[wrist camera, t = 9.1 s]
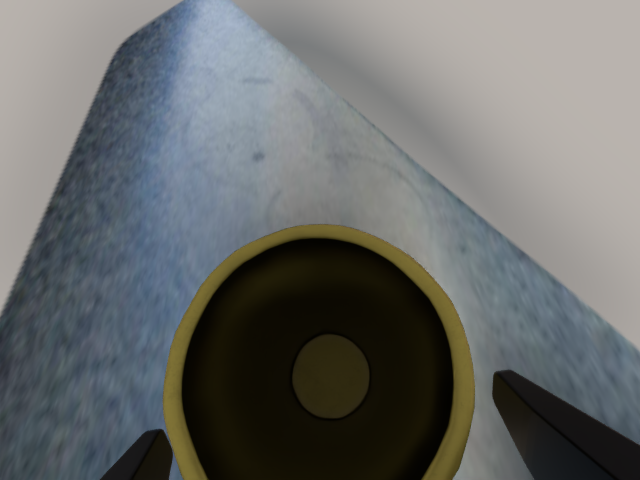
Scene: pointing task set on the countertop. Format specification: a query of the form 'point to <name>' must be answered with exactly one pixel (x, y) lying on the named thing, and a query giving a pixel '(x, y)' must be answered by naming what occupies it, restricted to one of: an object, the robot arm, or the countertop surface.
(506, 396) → the robot arm
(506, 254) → the countertop surface
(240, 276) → the vase
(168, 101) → the countertop surface
